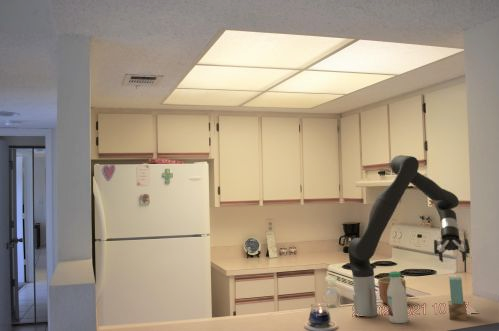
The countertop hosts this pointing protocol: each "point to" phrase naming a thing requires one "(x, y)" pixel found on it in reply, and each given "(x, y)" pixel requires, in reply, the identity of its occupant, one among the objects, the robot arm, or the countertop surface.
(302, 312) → the countertop surface
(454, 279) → the teal brick
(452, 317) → the tower base
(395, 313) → the milk bottle
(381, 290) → the planter
